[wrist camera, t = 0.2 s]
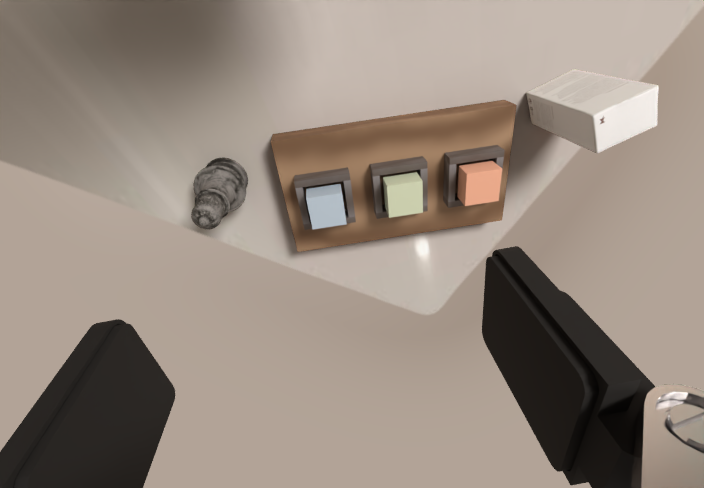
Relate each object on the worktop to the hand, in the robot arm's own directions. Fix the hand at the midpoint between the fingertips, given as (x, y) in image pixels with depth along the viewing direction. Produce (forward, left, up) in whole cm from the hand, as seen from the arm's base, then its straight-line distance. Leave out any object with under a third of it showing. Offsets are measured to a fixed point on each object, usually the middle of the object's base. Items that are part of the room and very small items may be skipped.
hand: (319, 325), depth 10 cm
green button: (+12, +8, -32) cm, 35 cm away
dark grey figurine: (+9, -13, -37) cm, 40 cm away
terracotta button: (+12, +17, -32) cm, 38 cm away
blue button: (+12, -1, -32) cm, 34 cm away
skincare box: (+5, +28, -37) cm, 47 cm away
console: (+12, +8, -36) cm, 39 cm away
